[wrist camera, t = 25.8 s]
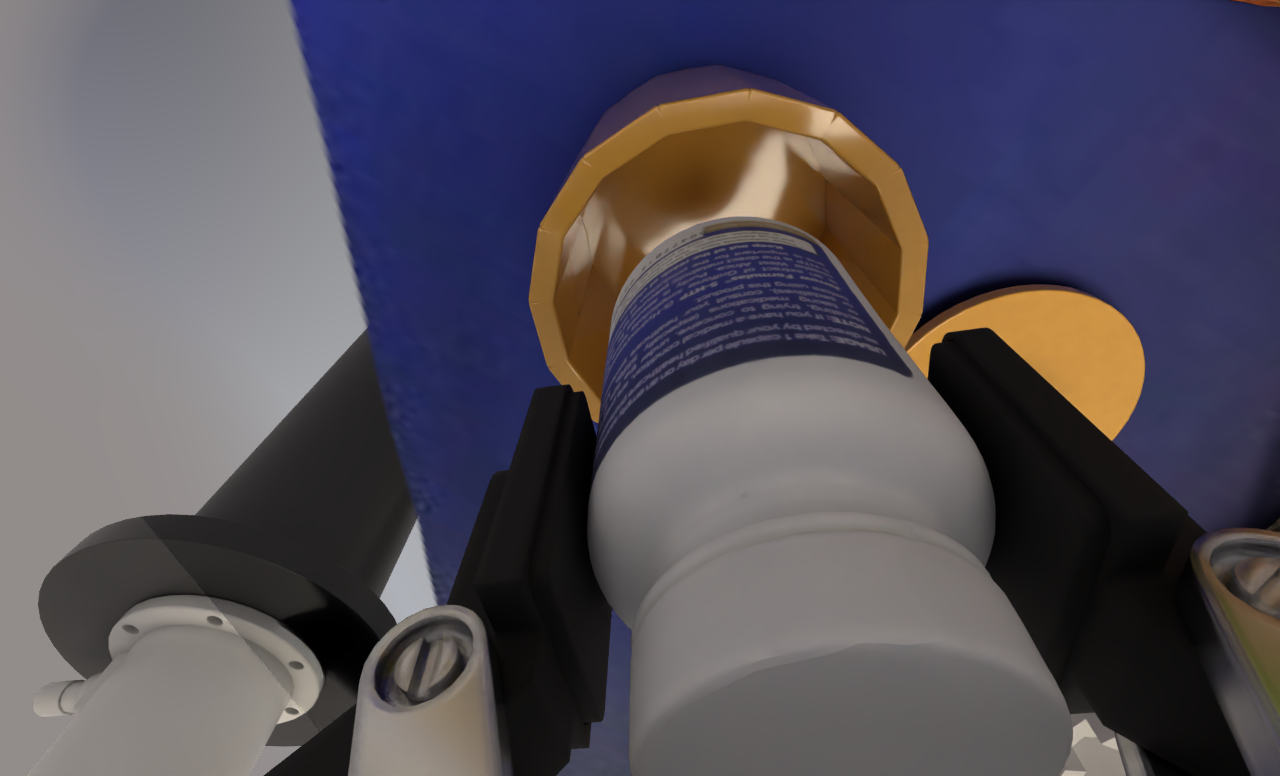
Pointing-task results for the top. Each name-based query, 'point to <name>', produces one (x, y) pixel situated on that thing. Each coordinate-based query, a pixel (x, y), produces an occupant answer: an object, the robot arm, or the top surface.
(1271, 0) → the ceramic vessel
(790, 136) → the pot
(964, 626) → the pill bottle
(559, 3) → the top surface
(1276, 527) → the toy
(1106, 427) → the pot lid
